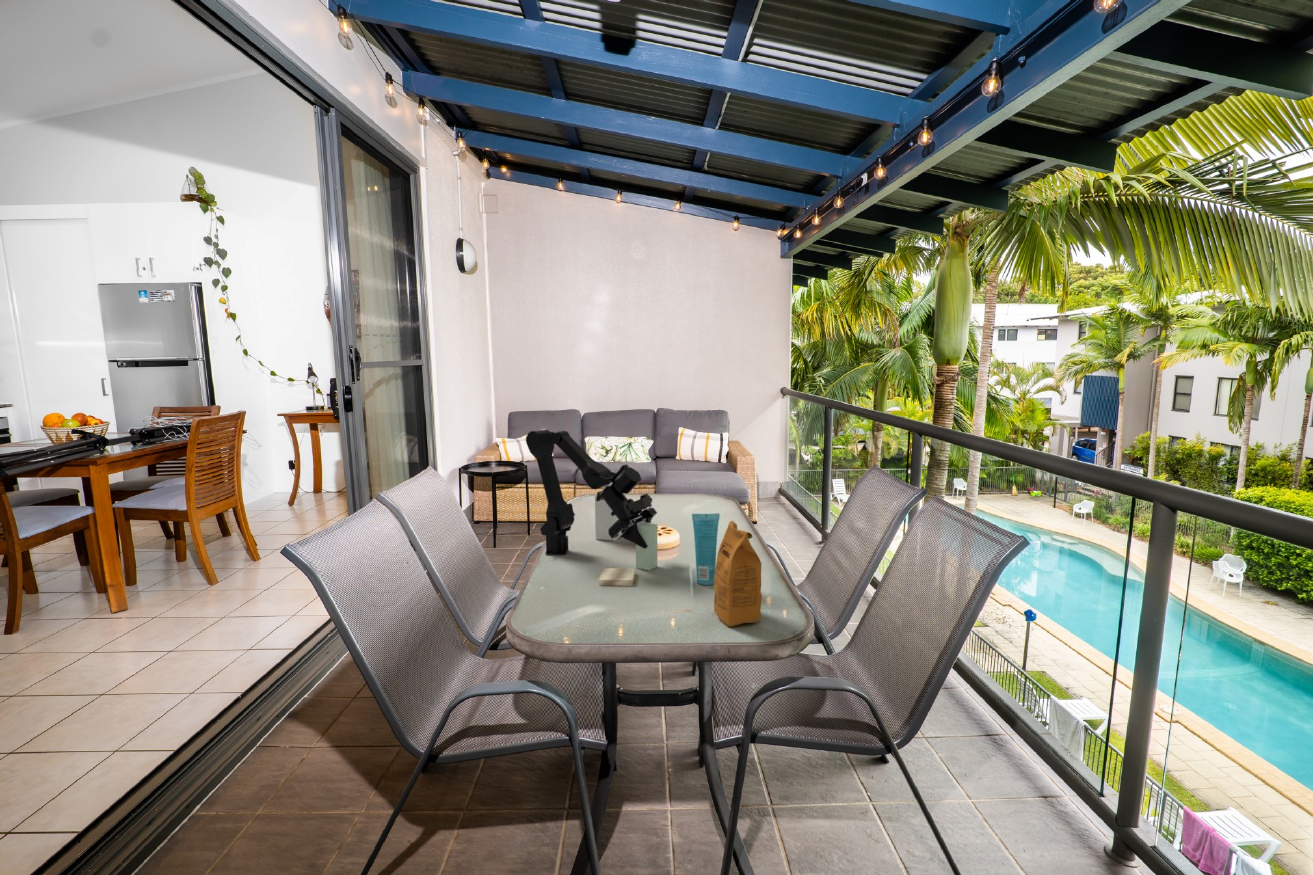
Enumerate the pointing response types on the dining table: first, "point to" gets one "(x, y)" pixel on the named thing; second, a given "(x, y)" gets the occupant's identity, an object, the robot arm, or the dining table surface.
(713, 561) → the tube
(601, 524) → the milk carton
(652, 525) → the post
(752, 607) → the coffee package
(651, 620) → the dining table surface
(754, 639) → the dining table surface
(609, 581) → the slab top
